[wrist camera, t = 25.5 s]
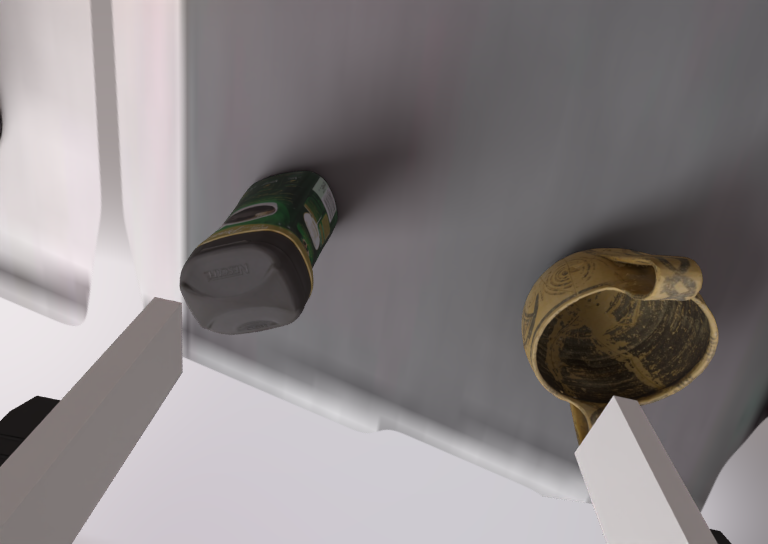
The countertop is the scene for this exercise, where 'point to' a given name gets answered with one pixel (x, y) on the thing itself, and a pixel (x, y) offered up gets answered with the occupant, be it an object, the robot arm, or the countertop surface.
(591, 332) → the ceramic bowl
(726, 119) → the countertop surface
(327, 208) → the coffee jar
